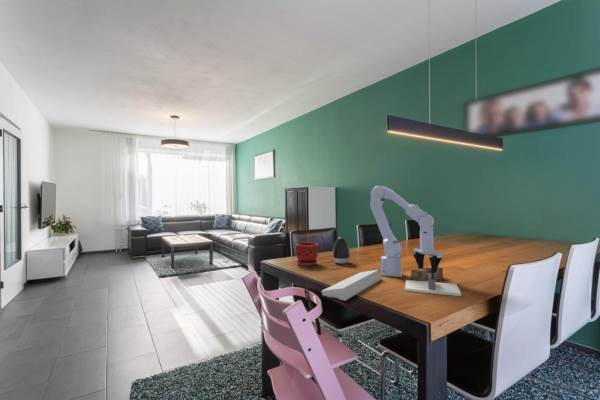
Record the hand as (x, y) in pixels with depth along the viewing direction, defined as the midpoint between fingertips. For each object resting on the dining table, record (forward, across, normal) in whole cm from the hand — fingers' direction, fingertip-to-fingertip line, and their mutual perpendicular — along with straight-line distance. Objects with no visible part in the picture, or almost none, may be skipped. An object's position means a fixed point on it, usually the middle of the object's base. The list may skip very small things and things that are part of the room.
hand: (427, 270), depth 135 cm
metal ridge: (+4, -11, +10) cm, 15 cm away
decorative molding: (+4, +6, +36) cm, 37 cm away
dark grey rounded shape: (+4, +47, +17) cm, 50 cm away
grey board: (+4, -11, +10) cm, 15 cm away
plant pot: (+4, +54, +36) cm, 64 cm away
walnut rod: (+4, 0, 0) cm, 4 cm away
